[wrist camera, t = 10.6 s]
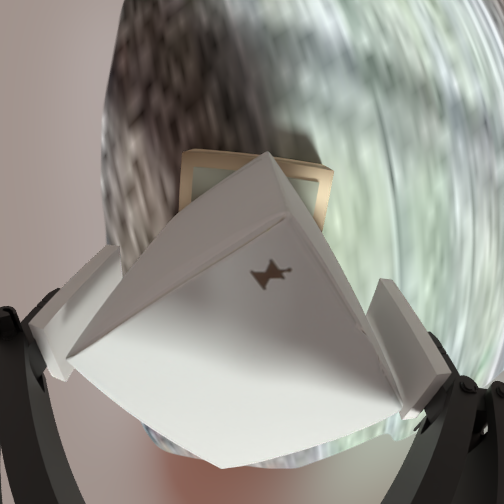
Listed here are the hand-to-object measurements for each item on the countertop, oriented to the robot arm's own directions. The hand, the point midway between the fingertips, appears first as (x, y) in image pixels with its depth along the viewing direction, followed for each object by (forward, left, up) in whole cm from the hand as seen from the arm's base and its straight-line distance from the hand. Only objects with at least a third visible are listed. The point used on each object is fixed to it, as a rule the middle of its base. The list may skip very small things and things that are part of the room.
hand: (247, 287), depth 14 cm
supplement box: (0, 0, -8) cm, 9 cm away
